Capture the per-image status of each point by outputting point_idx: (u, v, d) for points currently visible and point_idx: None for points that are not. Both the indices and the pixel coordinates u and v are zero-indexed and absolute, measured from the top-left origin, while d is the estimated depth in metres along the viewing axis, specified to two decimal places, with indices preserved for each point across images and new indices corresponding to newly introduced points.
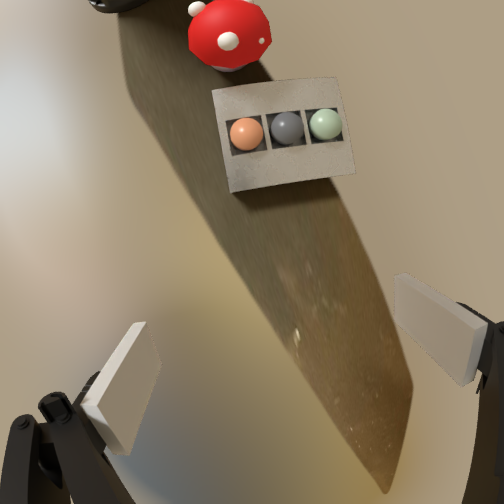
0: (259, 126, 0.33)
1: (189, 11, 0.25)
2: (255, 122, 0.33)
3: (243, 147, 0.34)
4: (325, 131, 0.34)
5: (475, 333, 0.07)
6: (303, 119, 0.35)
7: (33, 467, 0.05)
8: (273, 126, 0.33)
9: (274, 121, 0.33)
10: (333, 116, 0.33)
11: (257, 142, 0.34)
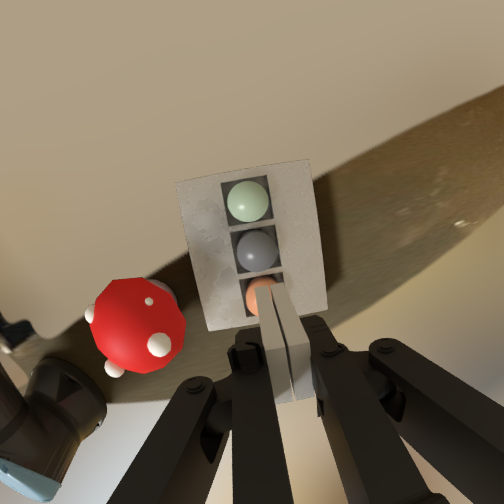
0: (257, 286, 0.30)
1: (119, 376, 0.27)
2: (252, 291, 0.30)
3: None
4: (259, 205, 0.28)
5: (290, 349, 0.10)
6: (241, 228, 0.30)
7: (192, 441, 0.06)
8: (257, 270, 0.30)
9: (250, 269, 0.30)
10: (237, 193, 0.28)
11: None
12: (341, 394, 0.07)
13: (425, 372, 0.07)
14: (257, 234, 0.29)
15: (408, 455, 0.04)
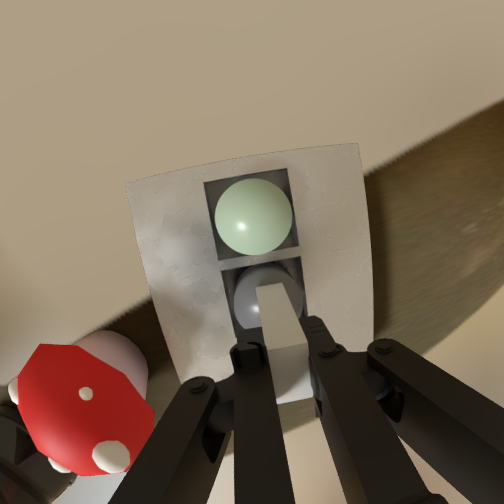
0: None
1: (70, 471, 0.13)
2: None
3: None
4: (275, 225, 0.15)
5: (288, 350, 0.10)
6: (242, 263, 0.17)
7: (194, 441, 0.06)
8: None
9: None
10: (234, 202, 0.15)
11: None
12: (339, 395, 0.07)
13: (423, 372, 0.07)
14: (270, 275, 0.16)
15: (407, 455, 0.04)
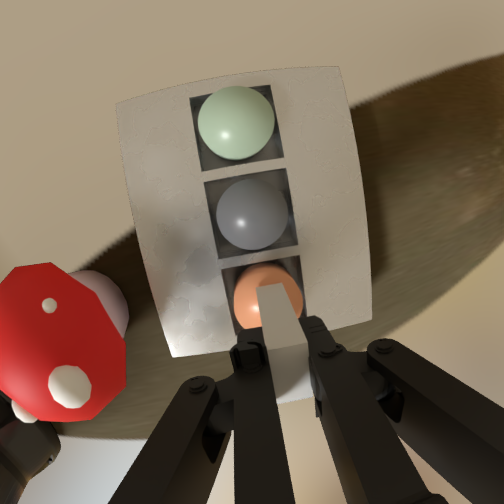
0: (253, 280, 0.16)
1: (34, 421, 0.12)
2: (244, 289, 0.16)
3: (299, 310, 0.17)
4: (257, 127, 0.14)
5: (288, 350, 0.10)
6: (225, 174, 0.16)
7: (194, 441, 0.06)
8: (252, 247, 0.17)
9: (240, 244, 0.17)
10: (217, 106, 0.14)
11: (290, 284, 0.16)
12: (339, 395, 0.07)
13: (423, 372, 0.07)
14: (253, 180, 0.16)
15: (407, 455, 0.04)
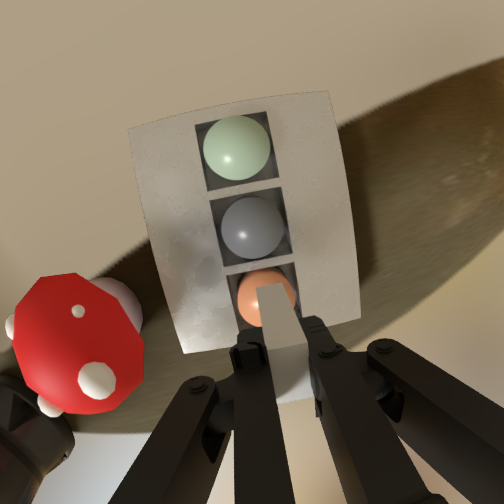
0: (253, 281, 0.20)
1: (58, 415, 0.15)
2: (246, 288, 0.20)
3: (292, 305, 0.20)
4: (255, 153, 0.17)
5: (289, 350, 0.10)
6: (228, 193, 0.19)
7: (194, 441, 0.06)
8: (252, 256, 0.19)
9: (242, 254, 0.19)
10: (220, 135, 0.16)
11: (284, 283, 0.20)
12: (339, 394, 0.07)
13: (423, 372, 0.07)
14: (252, 199, 0.18)
15: (407, 455, 0.04)
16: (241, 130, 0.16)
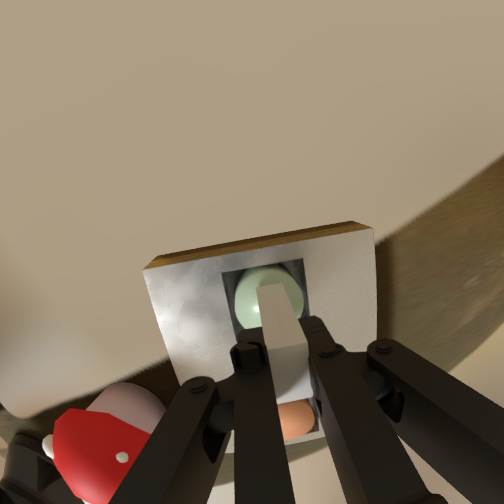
0: None
1: None
2: None
3: (311, 425, 0.19)
4: None
5: (288, 350, 0.10)
6: None
7: (194, 441, 0.06)
8: None
9: None
10: (252, 294, 0.16)
11: (306, 411, 0.19)
12: (339, 394, 0.07)
13: (423, 373, 0.07)
14: None
15: (406, 455, 0.04)
16: None
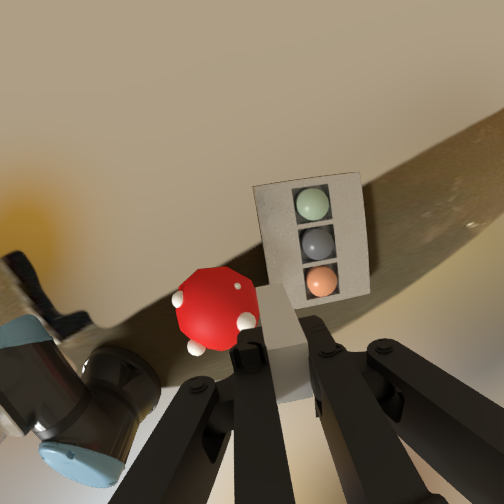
0: (317, 271, 0.38)
1: (201, 354, 0.33)
2: (313, 275, 0.38)
3: (335, 284, 0.38)
4: (322, 207, 0.36)
5: (289, 350, 0.10)
6: (307, 226, 0.37)
7: (194, 441, 0.06)
8: (318, 258, 0.37)
9: (313, 257, 0.37)
10: (306, 198, 0.35)
11: (332, 273, 0.38)
12: (339, 394, 0.07)
13: (423, 373, 0.07)
14: (319, 230, 0.36)
15: (407, 455, 0.04)
16: (316, 196, 0.35)
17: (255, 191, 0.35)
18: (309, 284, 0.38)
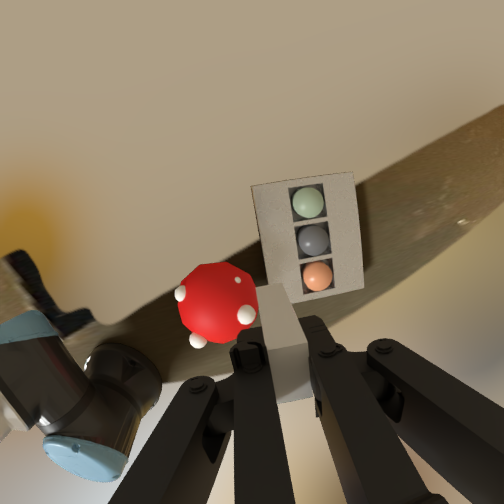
0: (313, 266, 0.39)
1: (202, 346, 0.35)
2: (309, 270, 0.40)
3: (330, 279, 0.40)
4: (317, 205, 0.38)
5: (289, 350, 0.10)
6: (303, 223, 0.39)
7: (194, 441, 0.06)
8: (313, 254, 0.39)
9: (309, 253, 0.39)
10: (301, 196, 0.37)
11: (327, 268, 0.40)
12: (339, 394, 0.07)
13: (423, 373, 0.07)
14: (315, 227, 0.38)
15: (407, 455, 0.04)
16: (311, 194, 0.37)
17: (253, 190, 0.37)
18: (305, 279, 0.40)
